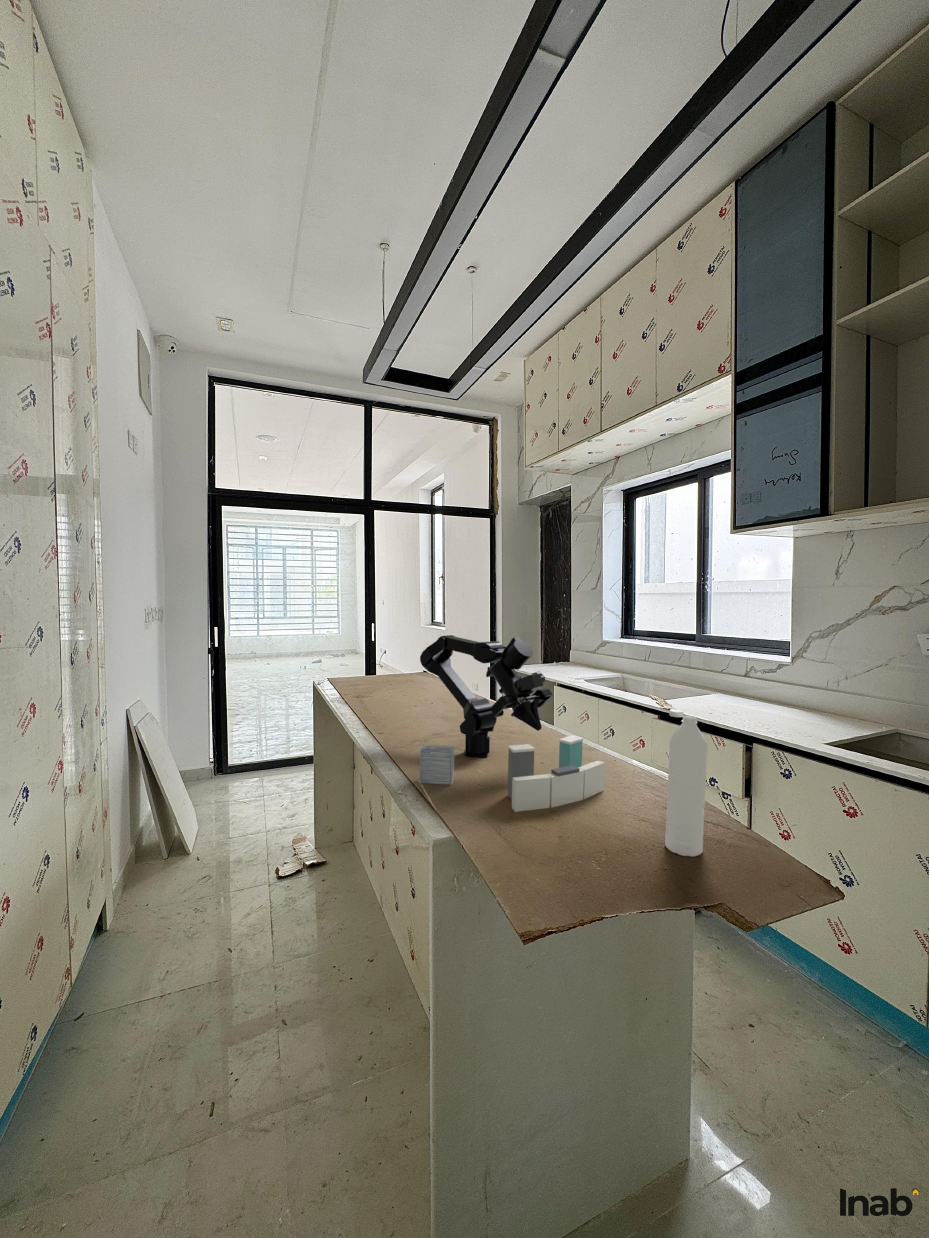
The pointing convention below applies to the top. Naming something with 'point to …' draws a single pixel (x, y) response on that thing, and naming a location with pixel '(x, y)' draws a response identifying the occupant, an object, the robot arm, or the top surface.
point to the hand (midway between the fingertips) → (539, 729)
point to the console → (557, 787)
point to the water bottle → (686, 788)
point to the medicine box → (437, 764)
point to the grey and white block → (519, 763)
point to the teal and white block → (570, 751)
